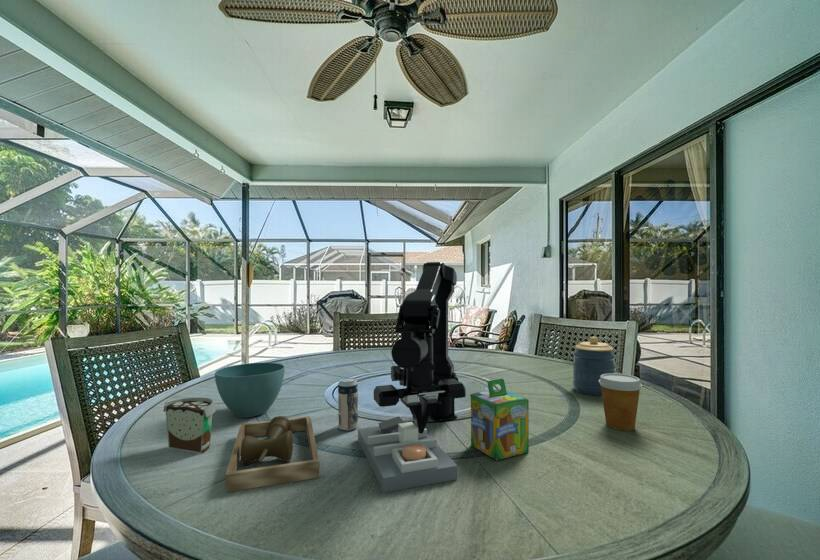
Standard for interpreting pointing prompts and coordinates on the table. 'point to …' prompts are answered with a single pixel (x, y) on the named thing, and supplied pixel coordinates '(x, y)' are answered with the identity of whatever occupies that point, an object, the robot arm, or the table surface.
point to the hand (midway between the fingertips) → (420, 432)
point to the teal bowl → (250, 387)
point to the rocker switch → (390, 424)
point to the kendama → (269, 443)
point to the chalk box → (499, 422)
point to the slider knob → (407, 432)
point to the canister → (592, 365)
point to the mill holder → (276, 472)
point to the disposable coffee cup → (620, 400)
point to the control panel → (397, 472)
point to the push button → (413, 452)
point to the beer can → (348, 404)
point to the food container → (189, 423)
